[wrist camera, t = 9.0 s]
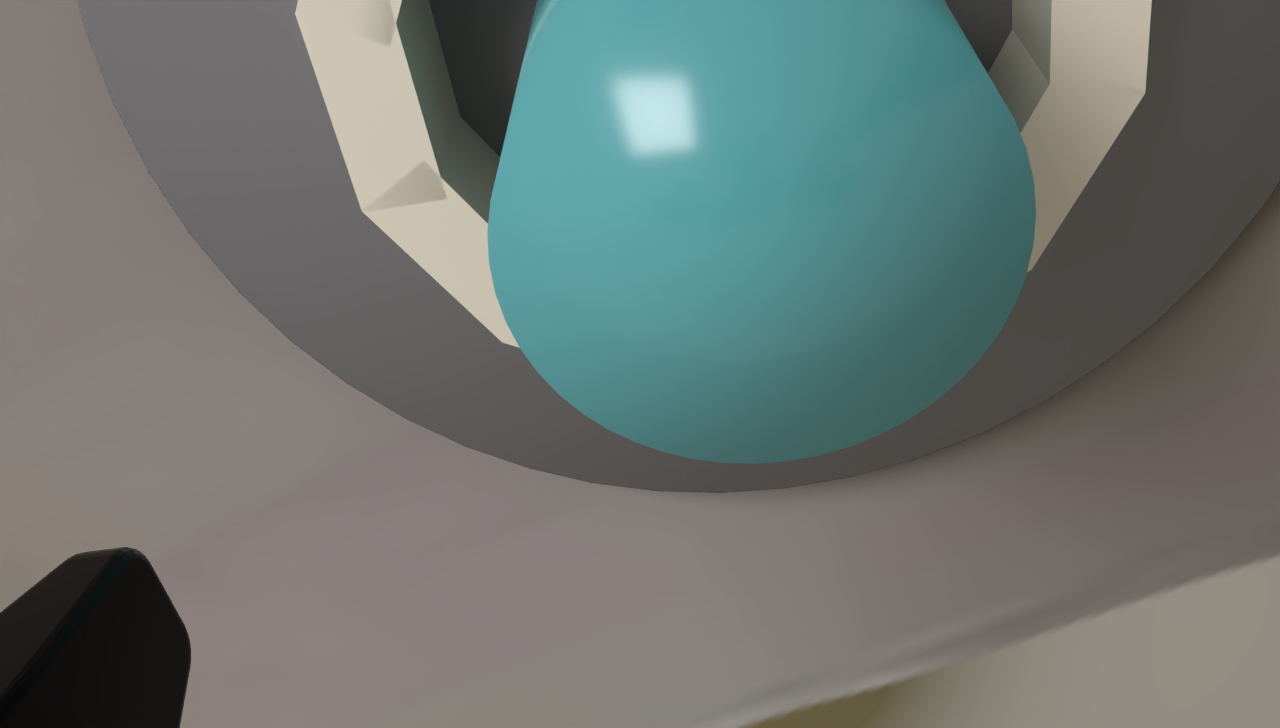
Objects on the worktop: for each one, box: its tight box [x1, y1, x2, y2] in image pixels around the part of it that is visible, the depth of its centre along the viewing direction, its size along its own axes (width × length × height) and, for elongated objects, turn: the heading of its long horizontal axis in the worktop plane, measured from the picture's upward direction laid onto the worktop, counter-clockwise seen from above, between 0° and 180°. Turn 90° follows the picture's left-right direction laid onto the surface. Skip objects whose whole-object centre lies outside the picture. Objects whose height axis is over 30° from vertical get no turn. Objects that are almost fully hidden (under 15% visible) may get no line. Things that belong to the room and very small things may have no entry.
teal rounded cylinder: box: [487, 0, 1036, 464], centre depth 14 cm, size 5×5×7 cm
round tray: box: [78, 0, 1280, 493], centre depth 17 cm, size 18×18×3 cm
